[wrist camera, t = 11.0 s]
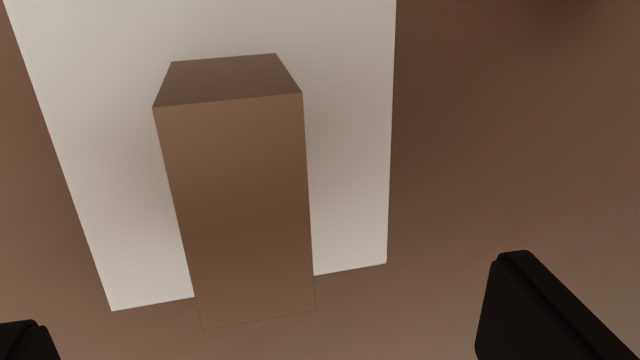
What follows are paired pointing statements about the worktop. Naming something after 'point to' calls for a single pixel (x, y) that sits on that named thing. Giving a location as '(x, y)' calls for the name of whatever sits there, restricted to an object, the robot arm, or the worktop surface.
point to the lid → (219, 142)
